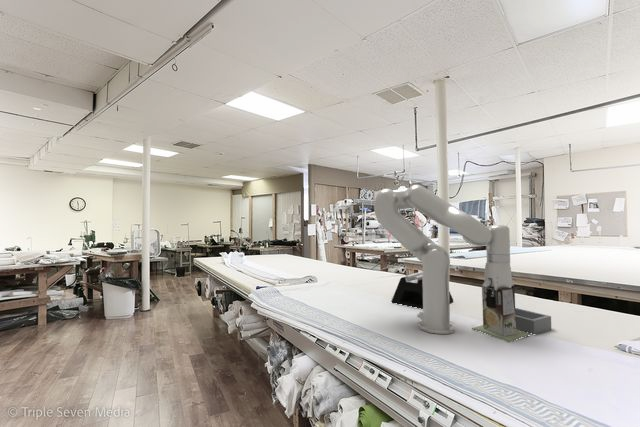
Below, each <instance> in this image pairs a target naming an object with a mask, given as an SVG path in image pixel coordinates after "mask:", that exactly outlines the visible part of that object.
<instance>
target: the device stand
mask: <svg viewBox="0 0 640 427" xmlns="http://www.w3.org/2000/svg"><path fill="white" fill-rule="evenodd" d="M422 274H423V270H422V271H419V272H415V273H411V274H408V275H405V276H403V277H401V278H400V279H399V281H398V284H397V287H396V289H395V291H394V294H393V296H392V299H391V302H392V303H391V304H394V303H397V304H396V305H399V304H402V305H401V306H404V305H407V306H406V307H409V306H412V307H411V308H414V307H417V308H416V309H419V308H421V309H420V310H423V285H422ZM452 303H454V299H453V296H452V294H451V291H450V290H449V304H452Z"/></svg>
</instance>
